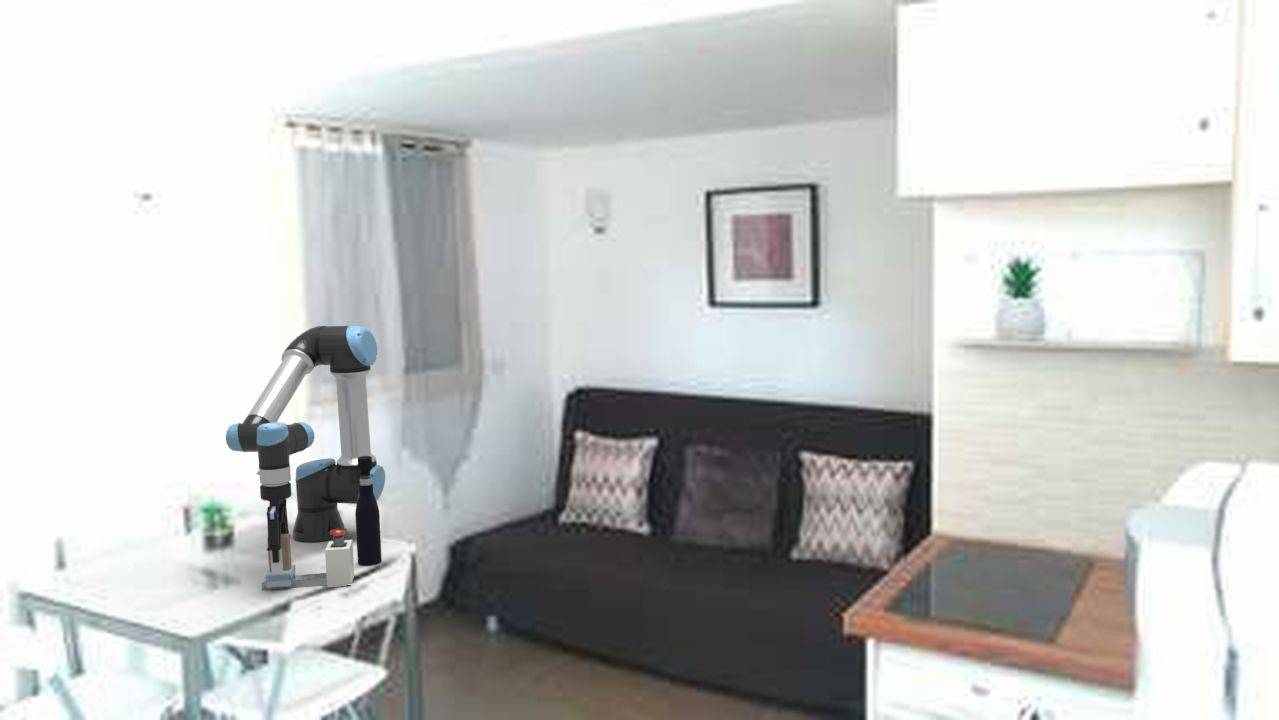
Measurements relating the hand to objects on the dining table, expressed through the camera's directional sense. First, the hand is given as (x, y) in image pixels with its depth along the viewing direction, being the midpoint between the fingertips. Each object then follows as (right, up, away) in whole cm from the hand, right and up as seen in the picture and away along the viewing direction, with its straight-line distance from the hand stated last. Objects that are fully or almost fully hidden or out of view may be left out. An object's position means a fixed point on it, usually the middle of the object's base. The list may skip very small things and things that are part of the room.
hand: (280, 568), depth 257 cm
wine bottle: (+18, -2, +19) cm, 26 cm away
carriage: (0, -5, +1) cm, 5 cm away
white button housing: (+15, -4, +3) cm, 16 cm away
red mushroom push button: (+15, +3, +2) cm, 15 cm away
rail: (+4, -4, +1) cm, 6 cm away
